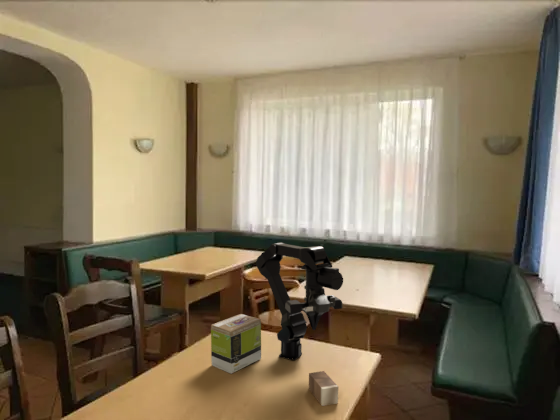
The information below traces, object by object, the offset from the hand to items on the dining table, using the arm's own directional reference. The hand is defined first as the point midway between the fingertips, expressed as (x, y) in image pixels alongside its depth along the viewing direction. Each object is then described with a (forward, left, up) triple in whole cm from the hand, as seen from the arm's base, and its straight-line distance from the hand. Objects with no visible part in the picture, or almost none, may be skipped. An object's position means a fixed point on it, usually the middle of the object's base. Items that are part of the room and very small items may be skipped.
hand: (313, 329), depth 145 cm
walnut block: (+6, -13, -11) cm, 18 cm away
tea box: (-24, -10, -13) cm, 29 cm away
